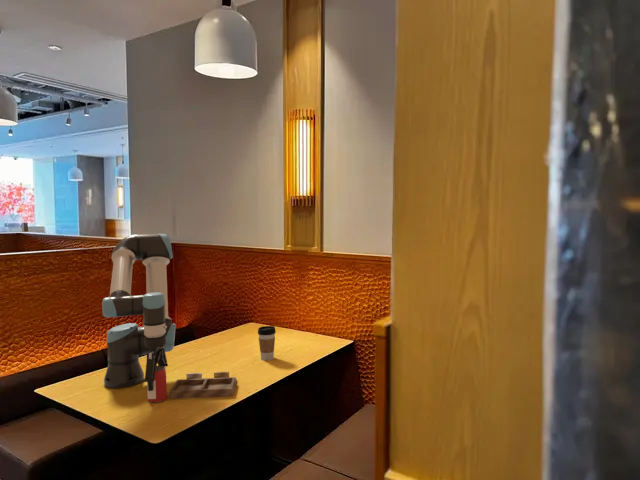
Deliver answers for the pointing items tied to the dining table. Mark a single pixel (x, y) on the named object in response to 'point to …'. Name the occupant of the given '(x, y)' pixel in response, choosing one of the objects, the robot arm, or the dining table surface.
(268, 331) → the coffee cup
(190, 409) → the dining table surface
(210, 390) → the brown desk organizer
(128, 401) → the dining table surface
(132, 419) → the dining table surface
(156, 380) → the beer can
